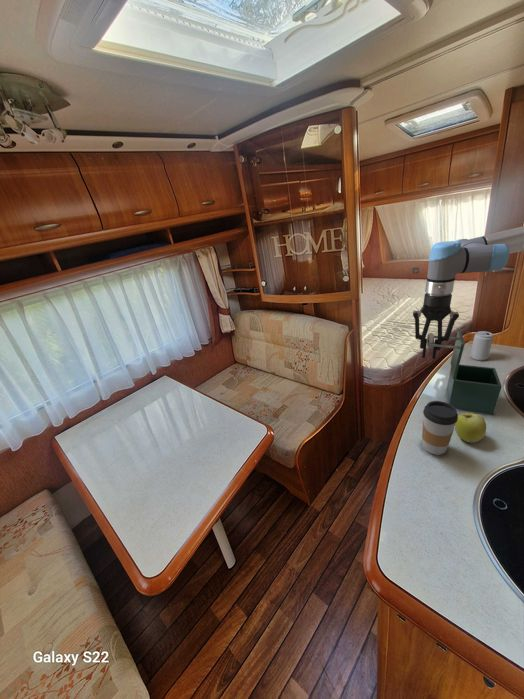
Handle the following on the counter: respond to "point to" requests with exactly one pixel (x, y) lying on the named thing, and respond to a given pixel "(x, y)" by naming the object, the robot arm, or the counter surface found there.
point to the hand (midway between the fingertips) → (428, 356)
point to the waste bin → (474, 389)
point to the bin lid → (457, 348)
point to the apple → (470, 427)
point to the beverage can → (481, 345)
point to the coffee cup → (438, 426)
